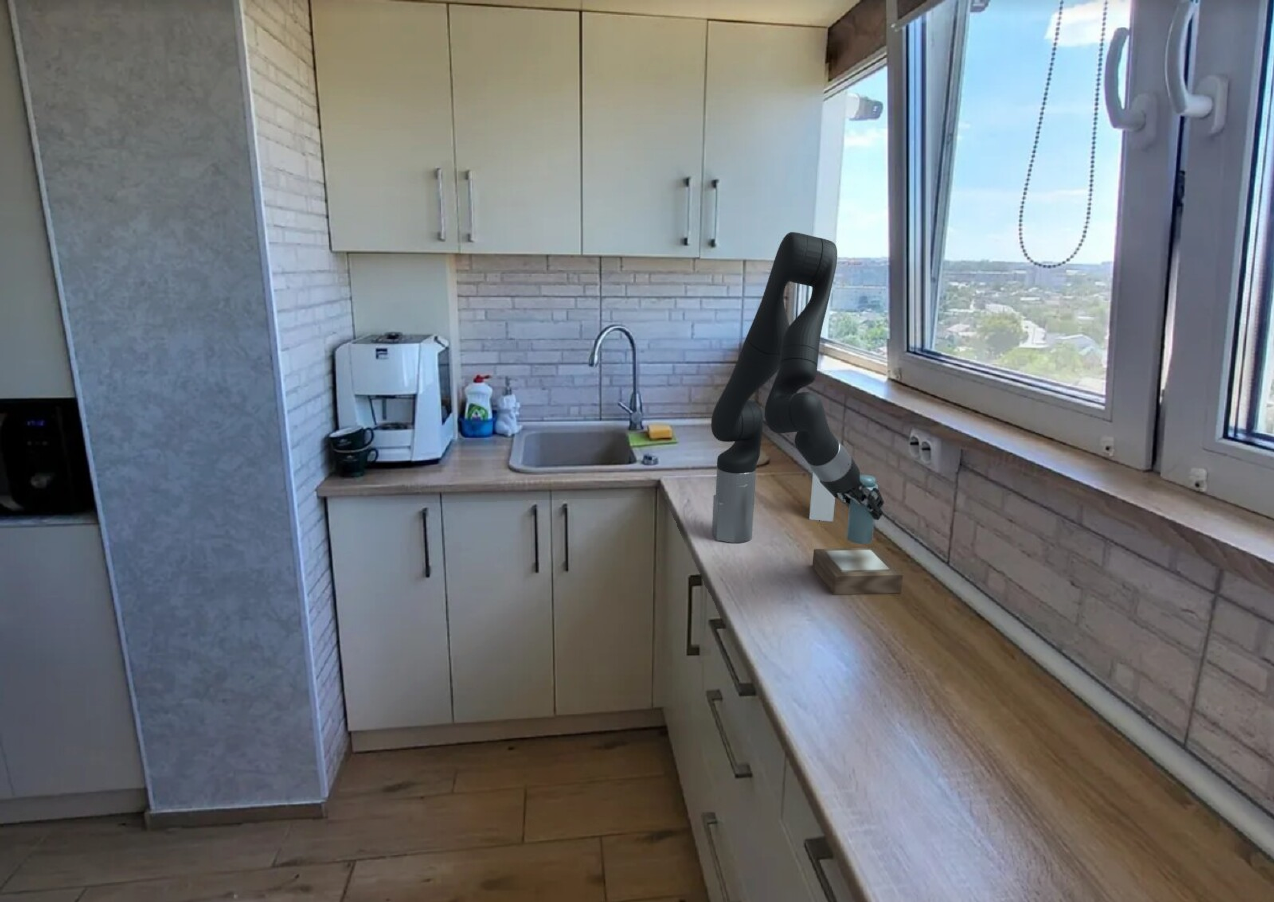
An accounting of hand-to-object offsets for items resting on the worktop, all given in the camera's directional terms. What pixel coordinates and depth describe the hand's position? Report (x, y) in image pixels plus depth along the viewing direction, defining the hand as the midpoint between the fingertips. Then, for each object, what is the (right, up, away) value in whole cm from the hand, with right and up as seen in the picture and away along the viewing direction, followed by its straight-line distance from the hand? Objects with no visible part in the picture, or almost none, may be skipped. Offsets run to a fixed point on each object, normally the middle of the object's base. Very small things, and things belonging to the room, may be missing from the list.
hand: (867, 512), depth 153 cm
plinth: (-2, -14, +3) cm, 15 cm away
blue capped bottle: (-2, -6, 0) cm, 6 cm away
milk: (0, -5, +39) cm, 39 cm away
